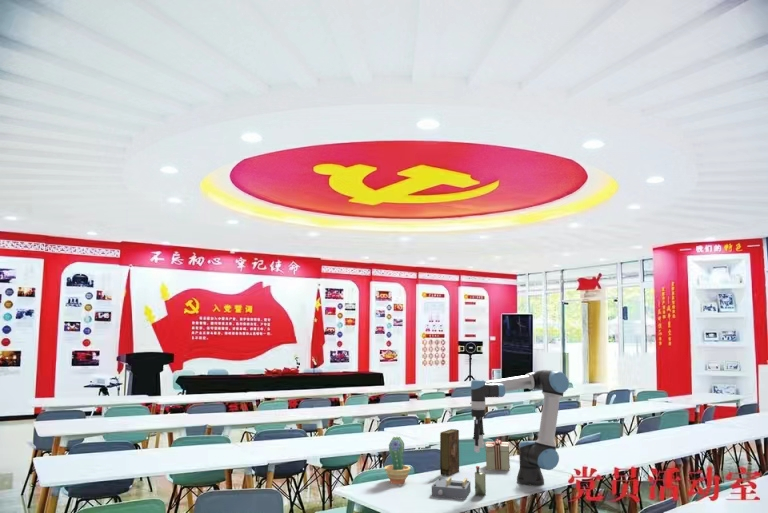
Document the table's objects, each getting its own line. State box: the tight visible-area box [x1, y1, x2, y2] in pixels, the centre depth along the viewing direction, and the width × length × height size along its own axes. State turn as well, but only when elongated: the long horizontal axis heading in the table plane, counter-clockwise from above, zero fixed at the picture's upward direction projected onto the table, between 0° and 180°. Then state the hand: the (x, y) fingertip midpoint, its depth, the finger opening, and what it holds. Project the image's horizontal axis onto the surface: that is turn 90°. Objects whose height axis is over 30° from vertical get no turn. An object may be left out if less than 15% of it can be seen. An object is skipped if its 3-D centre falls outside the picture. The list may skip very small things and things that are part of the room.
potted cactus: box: [384, 436, 412, 485], centre depth 328 cm, size 15×15×25 cm
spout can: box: [474, 465, 487, 497], centre depth 301 cm, size 6×6×14 cm
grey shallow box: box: [431, 476, 472, 500], centre depth 301 cm, size 18×18×8 cm
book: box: [439, 428, 460, 477], centre depth 350 cm, size 16×6×25 cm, turn 148°
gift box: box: [483, 438, 511, 471], centre depth 365 cm, size 17×18×17 cm
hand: (478, 449), depth 304 cm, fingers open, 13 cm apart
